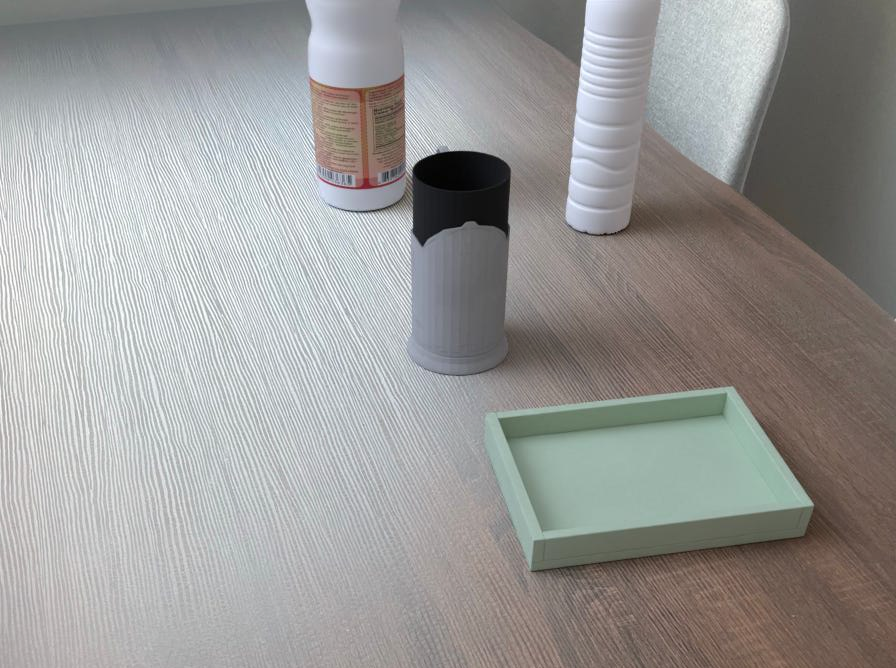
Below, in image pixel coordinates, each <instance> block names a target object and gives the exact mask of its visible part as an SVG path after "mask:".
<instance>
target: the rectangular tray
mask: <svg viewBox="0 0 896 668" xmlns="http://www.w3.org/2000/svg"><path fill="white" fill-rule="evenodd" d="M483 436H484V437H483V444H484V447H485V450H486V453H487V455H488V458H489V461H490V464H491V466H492V467H491V468H492V469H493V472H494V475H495V477H496V480H497V483H498V486H499V488H500V491H501V494H502V497H503V500H504V502H505V505H506V507H507V511H508V514H509V516H510V519H511V522H512V524H513V527H514V530H515V533H516V536H517V538H518V540H519V543H520V546H521V549H522V551H523V554H524V558H525V560H526V563H527V566H528V568H529V571H530V572H536V571H543V570H551V569H559V568H567V567H575V566H583V565H590V564H598V563H605V562H614V561H622V560H630V559H638V558H645V557H652V556H661V555H667V554H668V555H669V554H677V553H683V552H691V551H700V550H707V549H716V548H722V547H723V548H724V547H730V546H731V547H732V546H739V545H747V544H754V543H761V542H771V541H778V540H785V539H793V538H802V537H805V534H806V532H807V528H808V526H809V522H810V520H811V517H812V514H813V511H814V508H815V504H814V502H813V501H812V499H811V498H810V497H809V495H808V494H807V492H806V490H805V489H804V487H803V486H802V485H801V483H800V482H799V480H798V479H797V478H796V475H794V473H793V472H792V470H791V469H790V467H789V465H787V463H786V461H785V460H784V458H783V457H782V455H781V454H780V453H779V451H778V450H777V448H776V447H775V445H774V444H773V442H772V441H771V439H770V438H769V437H768V434H766V432H765V430H764V429H763V428H762V426H761V425H760V424H759V422H758V420H757V419H756V418H755V416H754V414H753V413H752V412H751V410H750V409H749V408H748V406H747V404H746V402H744V400H743V398H742V397H741V395H740V394H739V392H738V391H737V390H736V388H735V387H734V386H725V387H723V386H721V387H712V388H704V389H695V390H687V391H678V392H677V391H676V392H669V393H659V394H650V395H641V396H632V397H624V398H622V397H621V398H614V399H604V400H596V401H586V402H577V403H569V404H560V405H552V406H541V407H534V408H532V407H531V408H523V409H515V410H506V411H497V412H487V413H485V418H484V435H483Z"/></svg>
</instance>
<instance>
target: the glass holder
mask: <svg viewBox="0 0 896 668" xmlns="http://www.w3.org/2000/svg"><path fill="white" fill-rule="evenodd" d="M511 169H512V168H511V166H510V165H509V164H508V162H506V161H505V160H504V159H502V158H500V157H498V156H496V155H492V154H490V153H487V152H482V151H481V152H480V151H473V150H450V149H449V147H448V146H447V145H438V146H437V147H436V150H435V153H433V154H430V155H427V156H425V157H423V158H421V159H419V160H418V161H417V162H416V163H415V164H414V165H413V167H412V169H411V178H412V179H411V183H412V184H411V185H412V187H411V188H412V189H411V191H412V228H411V229H410V271H411V272H410V273H411V274H410V275H411V277H410V278H411V280H410V282H411V283H410V285H411V334H410V336H409V338H408V340H407V344H406V350H407V354H408V356H409V357H410V359H411V360H412V362H414V363H415V364H417V365H418V366H419V367H422V368H423V369H425V370H427V371H430V372H434V373H438V374H442V375H449V376H467V375H474V374H479V373H483V372H486V371H488V370H491V369H493V368H495V367H496V366H499V364H501V363H502V362H503V361H504V360H505V359H506V357H507V355H508V353H509V343H508V340H507V337H506V334H505V320H506V305H507V303H506V302H507V288H508V287H507V286H508V268H509V250H510V236H511V235H510V234H511V226H510V223H509V214H510V213H509V212H510V196H511V195H510V194H511V181H512V179H511V178H512V177H511V176H512V170H511Z"/></svg>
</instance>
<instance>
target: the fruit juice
mask: <svg viewBox="0 0 896 668" xmlns="http://www.w3.org/2000/svg"><path fill="white" fill-rule="evenodd" d="M304 1H305V6H306V8H307V12H308V15H309V18H310V23H311V28H310V33H309V36H308V40H307V70H308V80H309V90H310V91H309V93H310V103H311V105H310V106H311V117H312V129H313V132H312V133H313V143H314V154H315V169H316V182H317V188H318V192H319V195H320V198H321V199H322V200H323V201H324V202H325V203H326V204H328V205H329V206H330V207H331V206H332V207H333V208H336V209H337V208H338V209H340V210H345V211H352V212H366V211H368V212H369V211H376V210H380V209H384V208H388V207H390V206H392V205H394V204H396V203H397V202H399V201H400V200H401V199H402V198H403V197H404V195H405V193H406V187H407V158H406V157H407V152H406V151H407V149H406V148H407V147H406V146H407V145H406V144H407V143H406V99H405V98H406V92H405V91H406V89H405V84H406V83H405V71H406V70H405V51H404V42H403V37H402V34H401V31H400V29H399V26H398V17H399V11H400V6H401V2H402V0H304Z"/></svg>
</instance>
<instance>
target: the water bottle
mask: <svg viewBox="0 0 896 668" xmlns="http://www.w3.org/2000/svg"><path fill="white" fill-rule="evenodd" d="M661 6H662V0H586V3H585V15H584V28H583V38H582V47H581V57H580V68H579V78H578V88H577V95H576V105H575V109H576V113H575V117H574V124H573V126H574V127H573V133H574V135H573V139H572V146H571V155H572V156H571V158H570V167H569V170H570V173H569V174H570V175H569V177H568V186H567V187H568V189H567V191H568V194H567V196H566V207H565V221H566V224H567V225H568V226H570V227H571V228H572V229H574V230H575V231H577V232H581V233H587V234H589V235H597V236H600V234H601V235H604V234H606V235H611V233H612V234H616V233H619V232H621V230H624V229H626V228H627V227H628V225H629V223H630V220H631V214H632V206H633V196H634V192H635V185H636V174H637V172H638V171H637V170H638V165H639V153H640V149H641V144H642V141H641V137H642V135H643V130H644V121H645V118H644V115H645V114H646V110H647V103H648V92H649V85H650V77H651V72H652V71H651V68H652V66H653V56H654V48H655V45H656V37H657V27H658V24H659V19H660V13H661ZM618 231H619V232H618ZM615 232H616V233H615Z"/></svg>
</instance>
